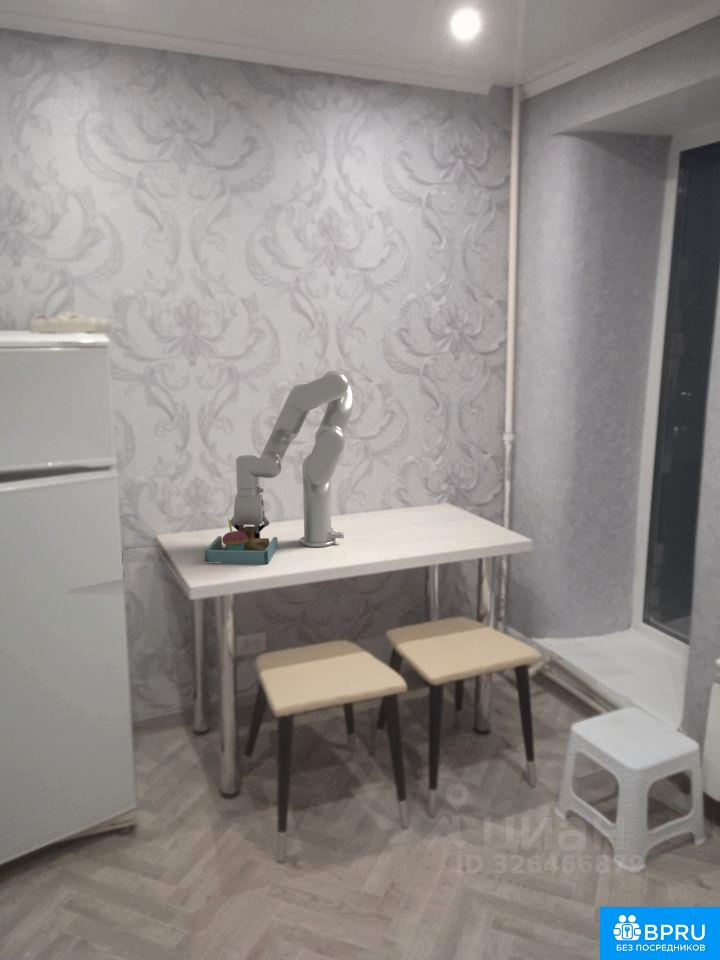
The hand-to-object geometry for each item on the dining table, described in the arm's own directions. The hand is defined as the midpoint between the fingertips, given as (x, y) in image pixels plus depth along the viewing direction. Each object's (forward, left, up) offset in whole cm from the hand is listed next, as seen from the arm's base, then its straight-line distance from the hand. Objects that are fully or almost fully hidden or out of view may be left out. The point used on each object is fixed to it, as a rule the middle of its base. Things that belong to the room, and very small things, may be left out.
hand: (250, 542), depth 252 cm
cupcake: (+3, +8, -1) cm, 9 cm away
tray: (0, +11, -1) cm, 11 cm away
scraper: (0, +2, -1) cm, 2 cm away
